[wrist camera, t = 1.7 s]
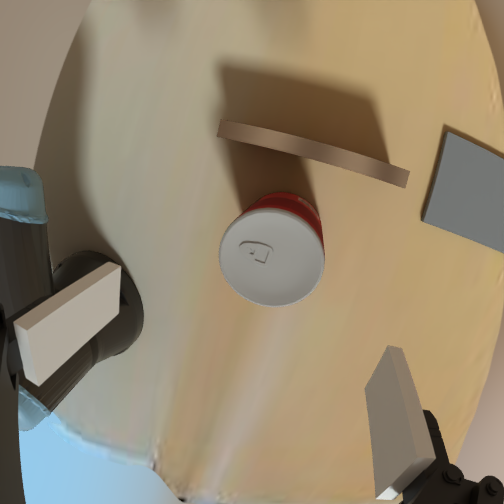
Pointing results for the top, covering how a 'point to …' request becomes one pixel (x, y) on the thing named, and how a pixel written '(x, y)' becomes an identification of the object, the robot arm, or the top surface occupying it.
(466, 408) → the top surface
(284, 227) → the canned food
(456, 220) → the slate mat
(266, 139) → the walnut screen
